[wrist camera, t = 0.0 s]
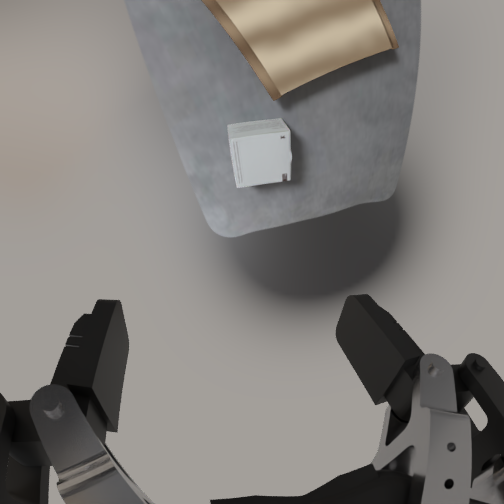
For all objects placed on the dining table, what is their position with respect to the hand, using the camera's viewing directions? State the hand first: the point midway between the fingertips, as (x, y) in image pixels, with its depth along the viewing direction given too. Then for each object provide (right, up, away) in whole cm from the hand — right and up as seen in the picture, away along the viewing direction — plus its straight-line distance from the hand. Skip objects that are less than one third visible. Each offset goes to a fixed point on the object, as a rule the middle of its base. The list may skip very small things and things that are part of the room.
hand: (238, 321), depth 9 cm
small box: (+1, +18, +28) cm, 34 cm away
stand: (+7, +31, +14) cm, 35 cm away
